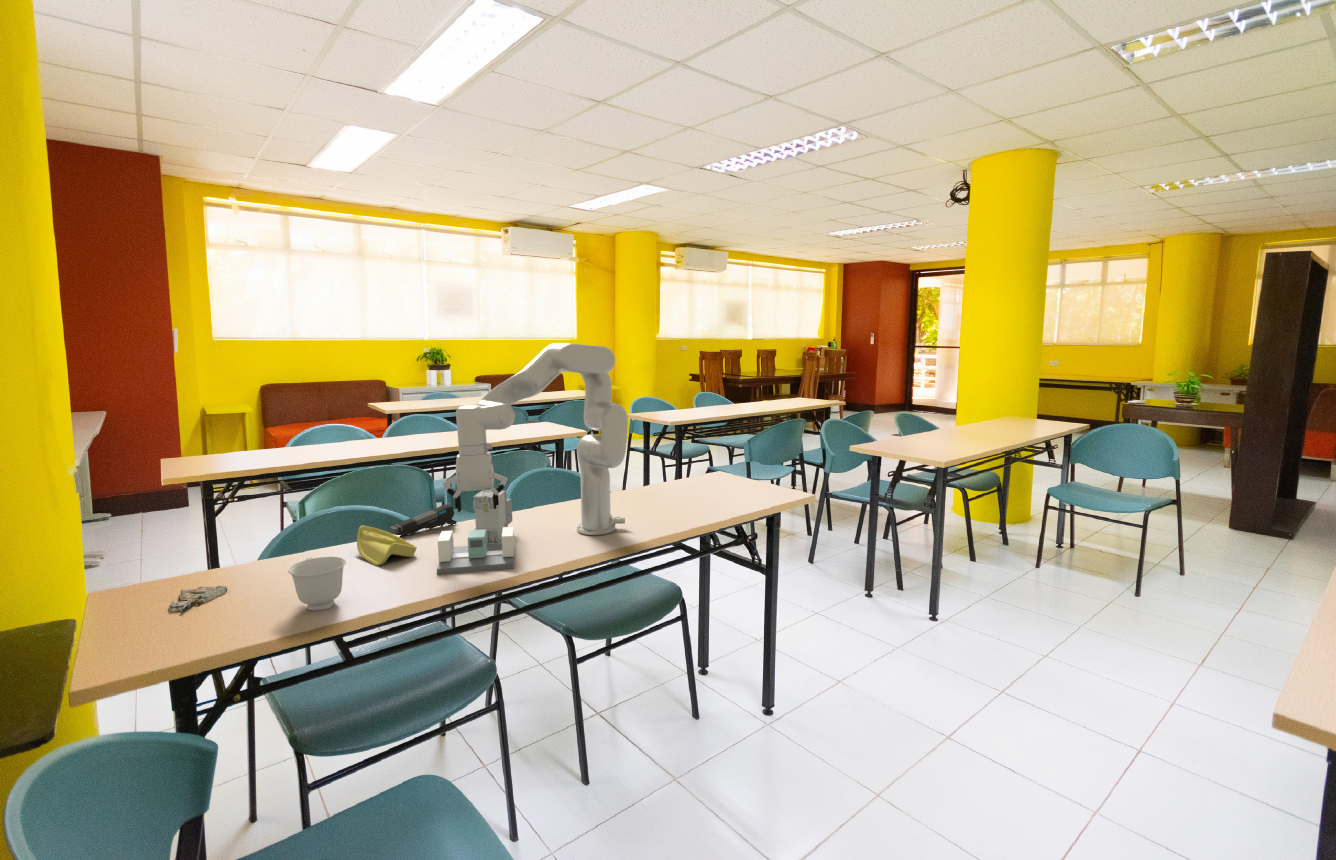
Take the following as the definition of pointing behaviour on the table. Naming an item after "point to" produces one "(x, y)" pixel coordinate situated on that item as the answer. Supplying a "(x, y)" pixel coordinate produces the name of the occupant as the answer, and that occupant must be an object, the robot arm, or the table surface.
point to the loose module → (477, 544)
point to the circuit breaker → (492, 514)
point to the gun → (425, 521)
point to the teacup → (318, 581)
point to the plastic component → (381, 545)
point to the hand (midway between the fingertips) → (477, 509)
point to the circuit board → (196, 597)
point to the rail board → (459, 559)
